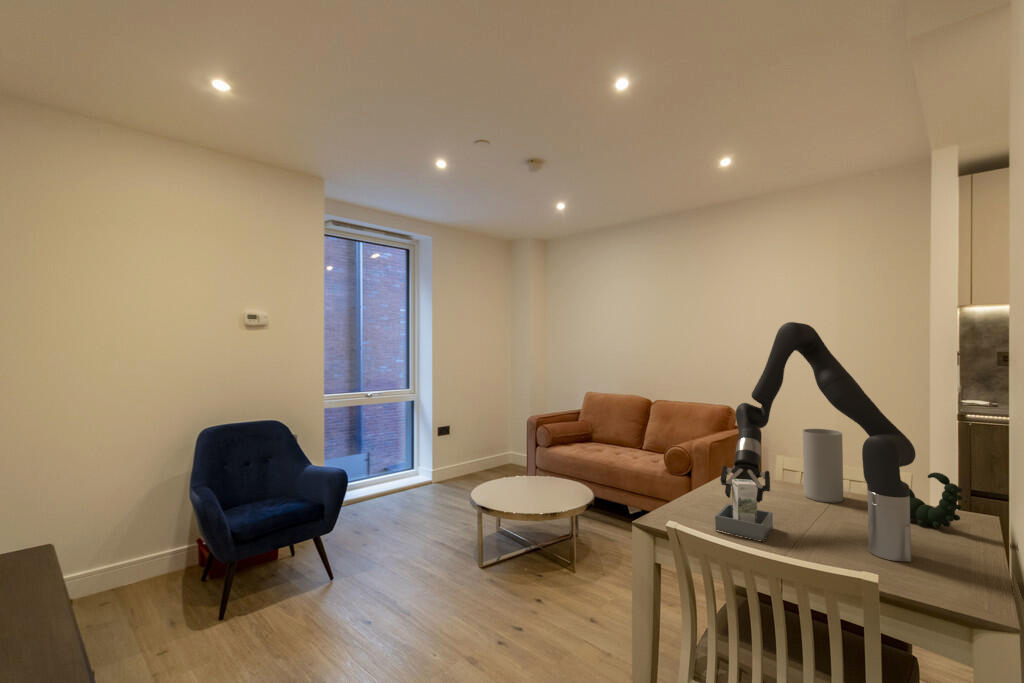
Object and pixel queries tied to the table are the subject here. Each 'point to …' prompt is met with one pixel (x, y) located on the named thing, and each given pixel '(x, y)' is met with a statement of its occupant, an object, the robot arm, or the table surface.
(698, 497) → the table surface
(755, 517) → the syrup box
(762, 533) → the crate
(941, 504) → the toy figurine
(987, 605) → the table surface
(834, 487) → the cylinder vase
